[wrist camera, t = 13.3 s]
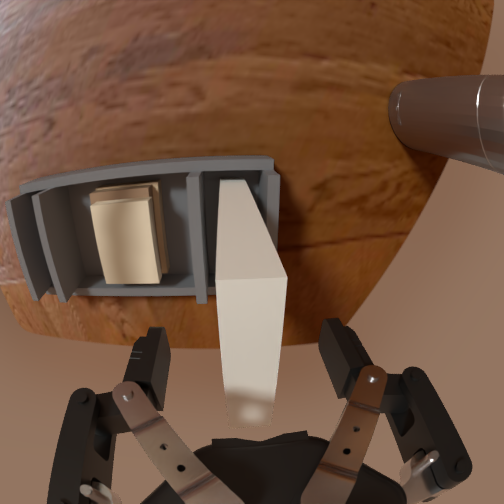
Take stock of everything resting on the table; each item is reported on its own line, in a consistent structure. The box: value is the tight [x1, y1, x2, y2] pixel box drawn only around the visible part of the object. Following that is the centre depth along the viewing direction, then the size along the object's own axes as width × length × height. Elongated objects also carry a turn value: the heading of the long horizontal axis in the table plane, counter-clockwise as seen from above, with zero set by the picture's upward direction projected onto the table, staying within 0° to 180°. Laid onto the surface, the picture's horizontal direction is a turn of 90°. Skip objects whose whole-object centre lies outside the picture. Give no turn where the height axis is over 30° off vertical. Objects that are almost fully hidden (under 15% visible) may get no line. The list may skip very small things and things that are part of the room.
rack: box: [5, 156, 280, 304], centre depth 26 cm, size 28×14×7 cm, turn 90°
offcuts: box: [90, 179, 170, 284], centre depth 26 cm, size 7×10×4 cm
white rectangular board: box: [215, 177, 287, 428], centre depth 20 cm, size 2×10×20 cm, turn 0°
